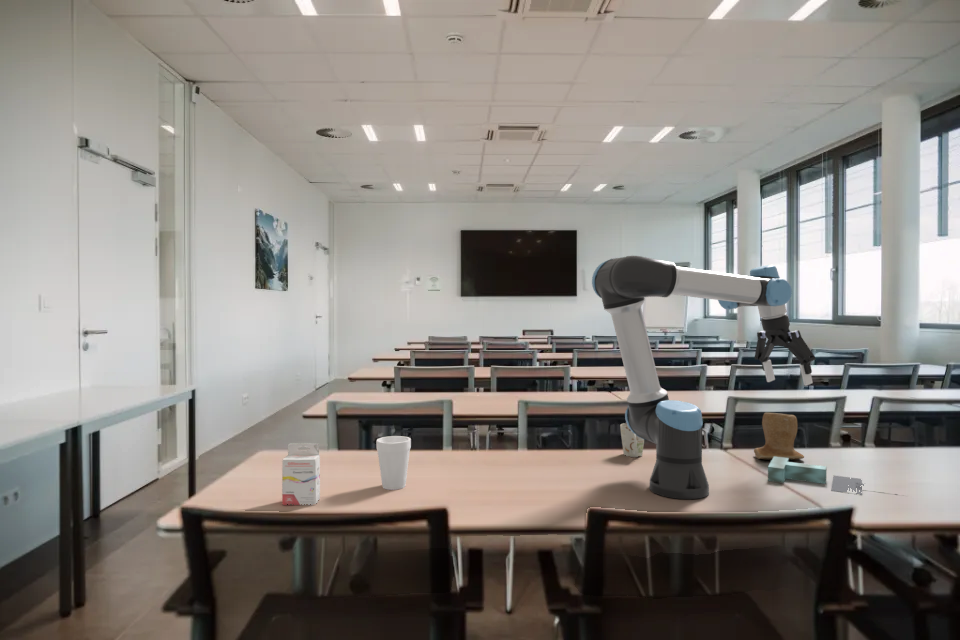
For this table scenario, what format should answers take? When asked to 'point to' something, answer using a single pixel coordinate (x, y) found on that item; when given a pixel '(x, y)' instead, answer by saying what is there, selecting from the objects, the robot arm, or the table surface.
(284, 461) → the ink cartridge box
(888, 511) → the table surface
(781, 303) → the robot arm
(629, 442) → the mug
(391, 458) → the foam cup
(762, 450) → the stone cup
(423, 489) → the table surface
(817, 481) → the t block
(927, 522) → the table surface
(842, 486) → the pad
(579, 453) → the table surface
